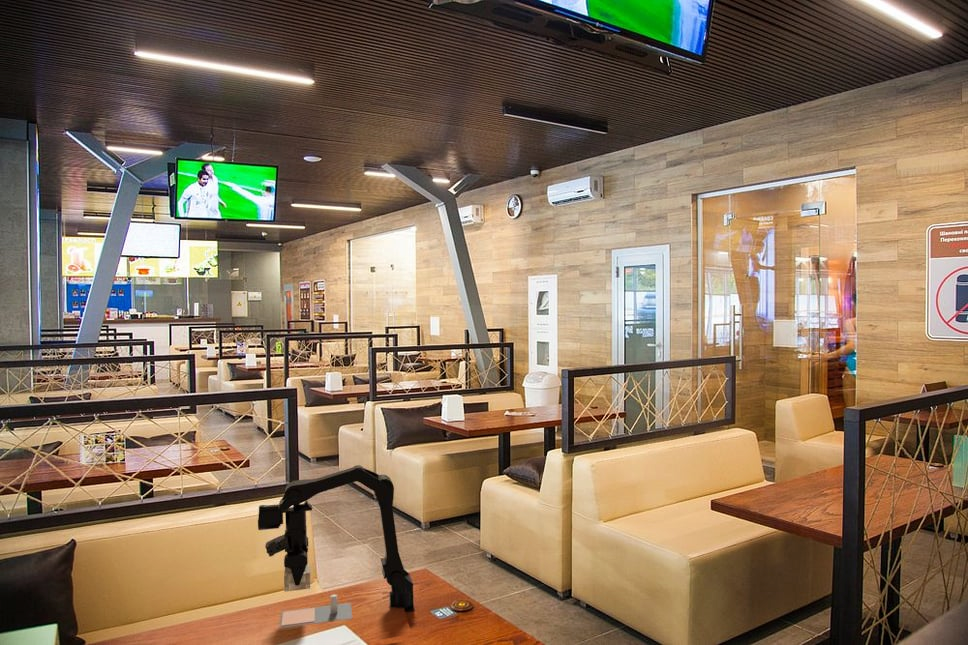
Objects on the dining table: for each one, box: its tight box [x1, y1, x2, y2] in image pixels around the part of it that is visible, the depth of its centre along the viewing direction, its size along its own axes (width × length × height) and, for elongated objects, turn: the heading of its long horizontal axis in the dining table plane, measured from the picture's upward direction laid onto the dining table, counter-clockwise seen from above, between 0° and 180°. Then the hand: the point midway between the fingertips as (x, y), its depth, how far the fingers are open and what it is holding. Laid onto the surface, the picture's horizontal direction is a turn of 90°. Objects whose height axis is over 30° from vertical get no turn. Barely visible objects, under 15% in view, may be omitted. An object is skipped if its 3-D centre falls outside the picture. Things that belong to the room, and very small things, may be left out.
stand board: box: [279, 594, 353, 629], centre depth 193 cm, size 20×11×6 cm, turn 104°
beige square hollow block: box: [283, 563, 311, 593], centre depth 192 cm, size 7×7×4 cm
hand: (297, 580), depth 192 cm, fingers closed on beige square hollow block, 7 cm apart
